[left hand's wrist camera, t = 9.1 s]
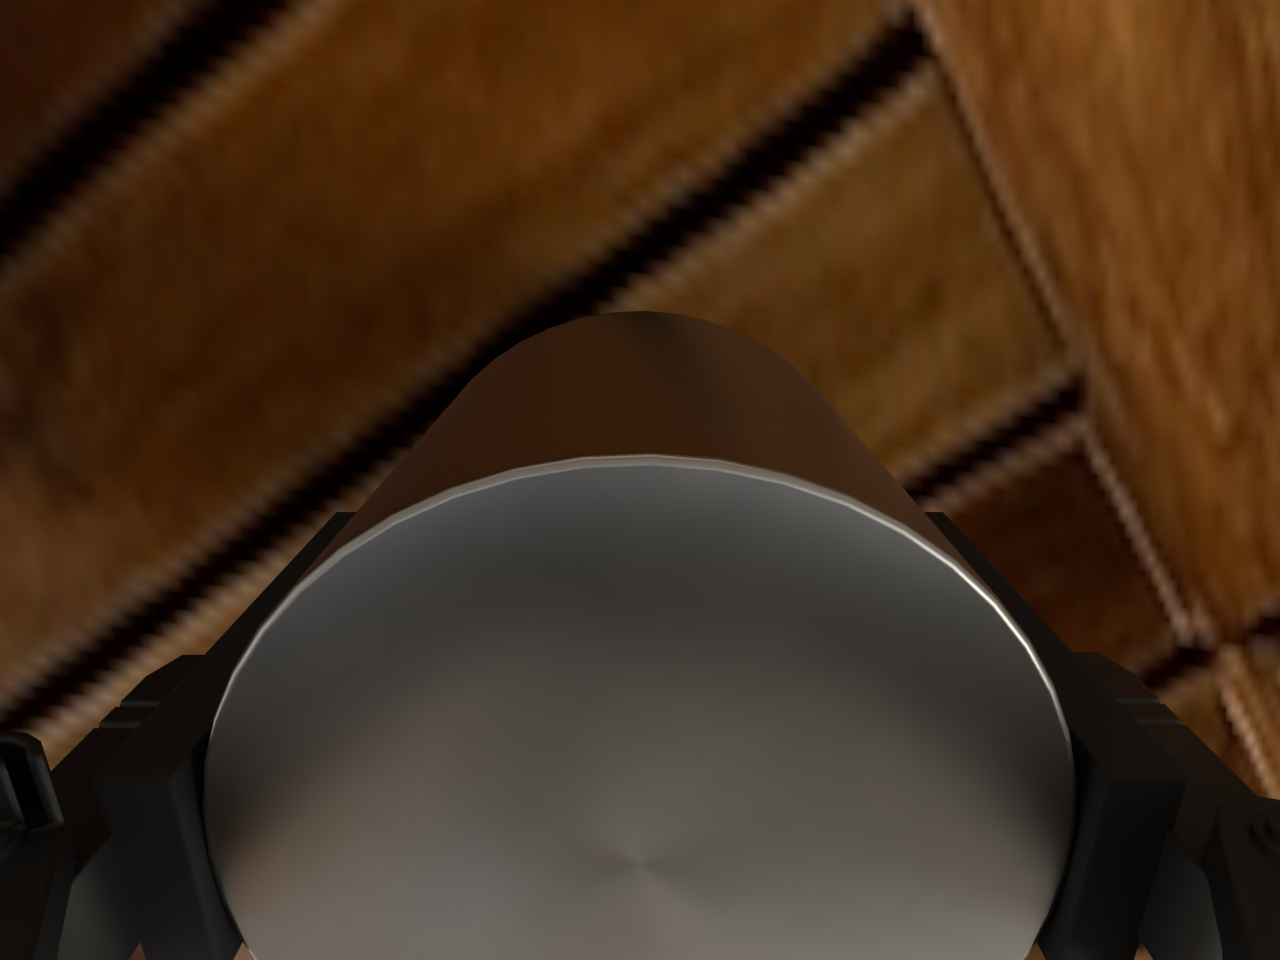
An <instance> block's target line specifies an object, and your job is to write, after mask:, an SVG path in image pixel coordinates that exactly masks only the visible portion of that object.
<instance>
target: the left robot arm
mask: <svg viewBox="0 0 1280 960" xmlns="http://www.w3.org/2000/svg"><path fill="white" fill-rule="evenodd" d="M924 513H925V514H926V515H927V516H928V518H929V519H930V520H931V521H932V522H933V523H934V525H935V526H936V527H937V528H938V529H939V530H940V531H941V533H942V534H943V535H944V536H945V537H946V538H947V539H948V541H949V542H950V543H951V544H952V545H953V546H954V548H955V549H956V550H957V551H958V552H959V553H960V554H961V556H962V557H963V558H964V559H965V560H966V561H967V562H968V564H969V565H970V566H971V567H972V568H973V569H974V570H975V572H976V573H977V574H978V575H979V576H980V577H981V579H982V580H983V581H984V582H985V583H986V584H987V585H988V587H989V588H990V589H991V590H992V591H993V592H994V593H995V595H996V596H997V597H998V598H999V600H1000V601H1001V602H1002V604H1003V605H1004V606H1005V608H1006V609H1007V610H1008V611H1009V613H1010V614H1011V615H1012V617H1013V618H1014V619H1015V621H1016V622H1017V623H1018V624H1019V626H1020V627H1021V628H1022V630H1023V631H1024V632H1025V634H1026V635H1027V636H1028V637H1029V639H1030V641H1031V643H1032V644H1033V646H1034V648H1035V650H1036V652H1037V654H1038V656H1039V658H1040V659H1041V661H1042V663H1043V665H1044V667H1045V669H1046V671H1047V672H1048V674H1049V676H1050V678H1051V680H1052V682H1053V684H1054V687H1055V690H1056V693H1057V696H1058V699H1059V702H1060V705H1061V708H1062V711H1063V714H1064V717H1065V720H1066V723H1067V726H1068V729H1069V734H1070V740H1071V747H1072V753H1073V760H1074V767H1075V773H1076V781H1077V787H1076V828H1075V833H1074V838H1073V843H1072V849H1071V854H1070V859H1069V864H1068V870H1067V873H1066V876H1065V879H1064V881H1063V884H1062V887H1061V890H1060V892H1059V895H1058V898H1057V901H1056V903H1055V906H1054V909H1053V912H1052V914H1051V916H1050V917H1049V919H1048V921H1047V923H1046V925H1045V927H1044V929H1043V930H1042V932H1041V934H1040V936H1039V938H1038V940H1037V941H1036V942H1037V944H1038V946H1039V947H1040V949H1041V951H1042V953H1043V955H1044V957H1045V959H1046V960H1134V957H1135V954H1136V950H1137V947H1138V944H1139V941H1140V940H1141V942H1142V943H1143V945H1144V946H1145V948H1146V949H1147V951H1148V952H1149V954H1150V955H1151V957H1152V958H1153V960H1280V800H1277V799H1271V798H1265V797H1259V796H1257V795H1256V794H1255V793H1254V792H1253V791H1252V790H1251V789H1250V788H1249V787H1248V786H1247V785H1246V784H1245V783H1244V782H1243V781H1242V780H1241V779H1240V778H1239V777H1238V776H1237V775H1236V774H1235V773H1234V772H1233V771H1232V770H1231V769H1230V768H1229V767H1228V766H1227V765H1226V764H1225V763H1224V762H1223V761H1222V760H1221V759H1220V758H1219V757H1218V756H1217V755H1215V754H1214V753H1213V752H1212V751H1211V750H1210V749H1209V748H1208V747H1207V746H1206V745H1205V744H1204V743H1203V742H1202V741H1201V740H1200V739H1199V738H1198V737H1197V736H1196V735H1195V734H1194V733H1193V732H1192V731H1191V730H1190V729H1189V728H1188V727H1187V726H1182V725H1181V720H1180V719H1179V718H1178V717H1177V716H1176V715H1175V714H1174V713H1173V712H1172V711H1171V710H1170V709H1169V708H1168V707H1167V706H1166V705H1165V704H1160V702H1159V698H1158V697H1157V696H1156V695H1155V694H1154V693H1153V692H1152V691H1151V690H1150V689H1149V688H1148V687H1147V686H1146V685H1145V684H1144V683H1143V682H1142V681H1141V680H1140V679H1139V678H1138V677H1137V676H1136V675H1135V674H1133V673H1132V672H1130V671H1128V670H1127V669H1125V668H1123V667H1121V666H1120V665H1118V664H1116V663H1115V662H1113V661H1111V660H1110V659H1108V658H1106V657H1104V656H1103V655H1101V654H1099V653H1098V652H1072V651H1071V650H1070V649H1069V648H1068V647H1067V646H1066V645H1065V644H1064V642H1063V641H1062V640H1061V639H1060V638H1059V637H1058V636H1057V635H1056V634H1055V633H1054V632H1053V631H1052V630H1051V628H1050V627H1049V626H1048V625H1047V624H1046V623H1045V622H1044V621H1043V620H1042V619H1041V618H1040V617H1039V615H1038V614H1037V613H1036V612H1035V611H1034V610H1033V609H1032V608H1031V607H1030V606H1029V605H1028V604H1027V603H1026V601H1025V600H1024V599H1023V598H1022V597H1021V596H1020V595H1019V594H1018V593H1017V592H1016V591H1015V590H1014V588H1013V587H1012V586H1011V585H1010V584H1009V583H1008V582H1007V581H1006V580H1005V579H1004V578H1003V577H1002V576H1001V574H1000V573H999V572H998V571H997V570H996V569H995V568H994V567H993V566H992V565H991V564H990V563H989V561H988V560H987V559H986V558H985V557H984V556H983V555H982V554H981V553H980V552H979V551H978V550H977V548H976V547H975V546H974V545H973V544H972V543H971V542H970V541H969V540H968V539H967V538H966V537H965V536H964V534H963V533H962V532H961V531H960V530H959V529H958V528H957V527H956V526H955V525H954V524H953V523H952V521H951V520H950V519H949V518H948V517H947V516H946V515H945V514H944V513H943V512H924ZM355 514H356V512H336V513H335V514H334V516H333V517H332V518H331V519H330V520H329V521H328V522H327V523H326V524H325V525H324V526H323V527H322V528H321V530H320V531H319V532H318V533H317V534H316V535H315V536H314V537H313V538H312V539H311V540H310V541H309V543H308V544H307V545H306V546H305V547H304V548H303V549H302V550H301V551H300V552H299V553H298V554H297V555H296V557H295V558H294V559H293V560H292V561H291V562H290V563H289V564H288V565H287V566H286V567H285V568H284V570H283V571H282V572H281V573H280V574H279V575H278V576H277V577H276V578H275V579H274V580H273V581H272V582H271V584H270V585H269V586H268V587H267V588H266V589H265V590H264V591H263V592H262V593H261V594H260V595H259V597H258V598H257V599H256V600H255V601H254V602H253V603H252V604H251V605H250V606H249V607H248V608H247V609H246V611H245V612H244V613H243V614H242V615H241V616H240V617H239V618H238V619H237V620H236V621H235V622H234V624H233V625H232V626H231V627H230V628H229V629H228V630H227V631H226V632H225V633H224V634H223V635H222V636H221V638H220V639H219V640H218V641H217V642H216V643H215V644H214V645H213V646H212V647H211V648H210V649H209V651H208V652H207V653H206V654H205V655H182V656H180V657H178V658H177V659H175V660H173V661H172V662H170V663H168V664H166V665H165V666H163V667H161V668H160V669H158V670H156V671H155V672H153V673H151V674H150V675H148V676H146V677H145V678H144V679H143V680H142V681H141V682H140V683H139V684H138V685H137V686H136V687H135V688H134V689H133V690H132V691H131V692H130V693H129V694H128V695H127V696H126V697H125V698H124V699H123V700H122V701H121V705H120V707H115V708H114V709H113V710H112V711H111V712H110V713H109V714H108V715H107V716H106V717H105V718H104V719H103V720H102V721H101V722H100V726H99V728H94V729H93V730H92V731H91V732H90V733H89V734H88V735H87V736H86V737H85V738H84V739H83V740H82V741H81V742H80V743H79V744H78V745H77V746H76V747H75V748H74V749H73V750H72V751H71V752H70V753H69V754H68V755H67V756H66V757H65V758H64V759H63V760H62V761H61V762H60V763H59V764H58V765H57V766H56V767H55V768H54V769H53V770H52V771H50V768H49V765H48V762H47V759H46V756H45V753H44V749H43V746H42V743H41V741H39V740H38V739H36V738H35V737H33V736H31V735H30V734H28V733H20V732H9V731H2V732H0V960H129V959H130V957H131V956H132V954H133V953H134V951H135V950H136V948H137V947H138V945H139V943H141V946H142V949H143V953H144V956H145V959H146V960H234V958H235V956H236V954H237V952H238V950H239V948H240V946H241V945H242V943H243V941H242V940H241V938H240V936H239V934H238V932H237V930H236V928H235V926H234V924H233V922H232V920H231V918H230V916H229V913H228V911H227V909H226V907H225V905H224V903H223V901H222V899H221V896H220V892H219V889H218V886H217V882H216V879H215V876H214V873H213V869H212V866H211V863H210V859H209V856H208V848H207V841H206V833H205V826H204V818H203V790H204V765H205V758H206V754H207V749H208V744H209V740H210V735H211V730H212V725H213V721H214V716H215V713H216V710H217V708H218V705H219V703H220V700H221V698H222V695H223V693H224V690H225V688H226V685H227V683H228V680H229V678H230V675H231V673H232V670H233V668H234V666H235V665H236V663H237V661H238V660H239V658H240V656H241V655H242V653H243V651H244V650H245V648H246V647H247V645H248V643H249V642H250V640H251V638H252V637H253V635H254V633H255V632H256V630H257V629H258V627H259V625H260V624H261V622H262V621H263V620H264V619H265V618H266V617H267V615H268V614H269V613H270V612H271V611H272V610H273V609H274V607H275V606H276V605H277V604H278V603H279V602H280V600H281V599H282V598H283V597H284V596H285V595H286V593H287V592H288V591H289V590H290V589H291V588H292V586H293V585H294V584H295V583H296V582H297V581H298V579H299V578H300V577H301V576H302V575H303V574H304V572H305V571H306V570H307V569H308V568H309V567H310V566H311V564H312V563H313V562H314V561H315V560H316V559H317V557H318V556H319V555H320V554H321V553H322V552H323V551H324V549H325V548H326V547H327V546H328V545H329V544H330V542H331V541H332V540H333V539H334V538H335V537H336V536H337V534H338V533H339V532H340V531H341V530H342V529H343V527H344V526H345V525H346V524H347V523H348V522H349V521H350V519H351V518H352V517H353V516H354V515H355Z"/></svg>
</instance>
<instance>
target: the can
mask: <svg viewBox="0 0 1280 960" xmlns="http://www.w3.org/2000/svg"><path fill="white" fill-rule="evenodd" d="M1076 787H1077V781H1076V773H1075V767H1074V760H1073V753H1072V747H1071V740H1070V734H1069V729H1068V726H1067V723H1066V720H1065V717H1064V714H1063V711H1062V708H1061V705H1060V702H1059V699H1058V696H1057V693H1056V690H1055V687H1054V684H1053V682H1052V680H1051V678H1050V676H1049V674H1048V672H1047V671H1046V669H1045V667H1044V665H1043V663H1042V661H1041V659H1040V658H1039V656H1038V654H1037V652H1036V650H1035V648H1034V646H1033V644H1032V643H1031V641H1030V639H1029V637H1028V636H1027V635H1026V634H1025V632H1024V631H1023V630H1022V628H1021V627H1020V626H1019V624H1018V623H1017V622H1016V621H1015V619H1014V618H1013V617H1012V615H1011V614H1010V613H1009V611H1008V610H1007V609H1006V608H1005V606H1004V605H1003V604H1002V602H1001V601H1000V600H999V598H998V597H997V596H996V595H995V593H994V592H993V591H992V590H991V589H990V588H989V587H988V585H987V584H986V583H985V582H984V581H983V580H982V579H981V577H980V576H979V575H978V574H977V573H976V572H975V570H974V569H973V568H972V567H971V566H970V565H969V564H968V562H967V561H966V560H965V559H964V558H963V557H962V556H961V554H960V553H959V552H958V551H957V550H956V549H955V548H954V546H953V545H952V544H951V543H950V542H949V541H948V539H947V538H946V537H945V536H944V535H943V534H942V533H941V531H940V530H939V529H938V528H937V527H936V526H935V525H934V523H933V522H932V521H931V520H930V519H929V518H928V516H927V515H926V514H925V513H924V512H923V511H922V510H921V508H920V507H919V506H918V505H917V504H916V503H915V502H914V500H913V499H912V498H911V497H910V496H909V495H908V493H907V492H906V491H905V490H904V489H903V488H902V487H901V485H900V484H899V483H898V482H897V481H896V480H895V479H894V477H893V476H892V475H891V474H890V473H889V472H888V470H887V469H886V468H885V467H884V466H883V465H882V464H881V462H880V461H879V460H878V459H877V458H876V457H875V456H874V454H873V453H872V452H871V451H870V450H869V449H868V447H867V446H866V445H865V444H864V443H863V442H862V441H861V439H860V438H859V437H858V436H857V435H856V434H855V433H854V431H853V430H852V429H851V428H850V427H849V426H848V424H847V423H846V422H845V421H844V420H843V419H842V418H841V416H840V415H839V414H838V413H837V412H836V411H835V410H834V408H833V407H832V406H831V405H830V404H829V403H828V401H827V400H826V399H825V398H824V397H823V396H822V395H821V393H820V392H819V391H818V390H817V389H816V388H815V387H814V386H813V385H812V384H811V383H810V382H809V381H808V380H807V379H806V378H805V377H804V376H803V375H802V374H801V373H800V372H799V371H798V370H797V369H796V368H795V367H794V366H793V365H791V364H790V363H789V362H787V361H786V360H784V359H783V358H782V357H780V356H779V355H778V354H776V353H775V352H773V351H772V350H771V349H769V348H768V347H766V346H764V345H762V344H761V343H759V342H757V341H755V340H753V339H751V338H749V337H748V336H746V335H744V334H742V333H740V332H737V331H735V330H732V329H729V328H727V327H724V326H721V325H719V324H716V323H713V322H711V321H707V320H702V319H698V318H693V317H689V316H685V315H680V314H672V313H661V312H650V311H636V312H613V313H607V314H602V315H596V316H590V317H585V318H580V319H577V320H573V321H570V322H567V323H564V324H561V325H558V326H555V327H552V328H549V329H547V330H545V331H543V332H541V333H538V334H536V335H534V336H532V337H530V338H528V339H526V340H524V341H522V342H520V343H518V344H517V345H515V346H514V347H512V348H511V349H509V350H508V351H506V352H505V353H503V354H502V355H500V356H499V357H497V358H496V359H494V360H493V361H492V362H491V363H490V364H489V365H488V366H486V367H485V368H484V369H483V370H482V371H481V372H480V373H478V374H477V375H476V376H475V377H474V378H473V379H472V380H471V381H470V382H469V383H468V384H467V385H466V387H465V388H464V389H463V390H462V391H461V392H460V394H459V395H458V396H457V397H456V398H455V399H454V400H453V402H452V403H451V404H450V405H449V406H448V407H447V409H446V410H445V411H444V412H443V413H442V414H441V415H440V417H439V418H438V419H437V420H436V421H435V422H434V424H433V425H432V426H431V427H430V428H429V429H428V430H427V432H426V433H425V434H424V435H423V436H422V437H421V439H420V440H419V441H418V442H417V443H416V444H415V445H414V447H413V448H412V449H411V450H410V451H409V452H408V454H407V455H406V456H405V457H404V458H403V459H402V461H401V462H400V463H399V464H398V465H397V466H396V467H395V469H394V470H393V471H392V472H391V473H390V474H389V476H388V477H387V478H386V479H385V480H384V481H383V482H382V484H381V485H380V486H379V487H378V488H377V489H376V491H375V492H374V493H373V494H372V495H371V496H370V497H369V499H368V500H367V501H366V502H365V503H364V504H363V506H362V507H361V508H360V509H359V510H358V511H357V512H356V514H355V515H354V516H353V517H352V518H351V519H350V521H349V522H348V523H347V524H346V525H345V526H344V527H343V529H342V530H341V531H340V532H339V533H338V534H337V536H336V537H335V538H334V539H333V540H332V541H331V542H330V544H329V545H328V546H327V547H326V548H325V549H324V551H323V552H322V553H321V554H320V555H319V556H318V557H317V559H316V560H315V561H314V562H313V563H312V564H311V566H310V567H309V568H308V569H307V570H306V571H305V572H304V574H303V575H302V576H301V577H300V578H299V579H298V581H297V582H296V583H295V584H294V585H293V586H292V588H291V589H290V590H289V591H288V592H287V593H286V595H285V596H284V597H283V598H282V599H281V600H280V602H279V603H278V604H277V605H276V606H275V607H274V609H273V610H272V611H271V612H270V613H269V614H268V615H267V617H266V618H265V619H264V620H263V621H262V622H261V624H260V625H259V627H258V629H257V630H256V632H255V633H254V635H253V637H252V638H251V640H250V642H249V643H248V645H247V647H246V648H245V650H244V651H243V653H242V655H241V656H240V658H239V660H238V661H237V663H236V665H235V666H234V668H233V670H232V673H231V675H230V678H229V680H228V683H227V685H226V688H225V690H224V693H223V695H222V698H221V700H220V703H219V705H218V708H217V710H216V713H215V716H214V721H213V725H212V730H211V735H210V740H209V744H208V749H207V754H206V758H205V765H204V790H203V818H204V826H205V833H206V841H207V848H208V856H209V859H210V863H211V866H212V869H213V873H214V876H215V879H216V882H217V886H218V889H219V892H220V896H221V899H222V901H223V903H224V905H225V907H226V909H227V911H228V913H229V916H230V918H231V920H232V922H233V924H234V926H235V928H236V930H237V932H238V934H239V936H240V938H241V940H242V941H243V943H244V944H245V946H246V947H247V949H248V950H249V952H250V953H251V955H252V956H253V958H254V959H255V960H1025V959H1026V958H1027V956H1028V955H1029V954H1030V952H1031V951H1032V949H1033V947H1034V945H1035V943H1036V941H1037V940H1038V938H1039V936H1040V934H1041V932H1042V930H1043V929H1044V927H1045V925H1046V923H1047V921H1048V919H1049V917H1050V916H1051V914H1052V912H1053V909H1054V906H1055V903H1056V901H1057V898H1058V895H1059V892H1060V890H1061V887H1062V884H1063V881H1064V879H1065V876H1066V873H1067V870H1068V864H1069V859H1070V854H1071V849H1072V843H1073V838H1074V833H1075V828H1076Z"/></svg>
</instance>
